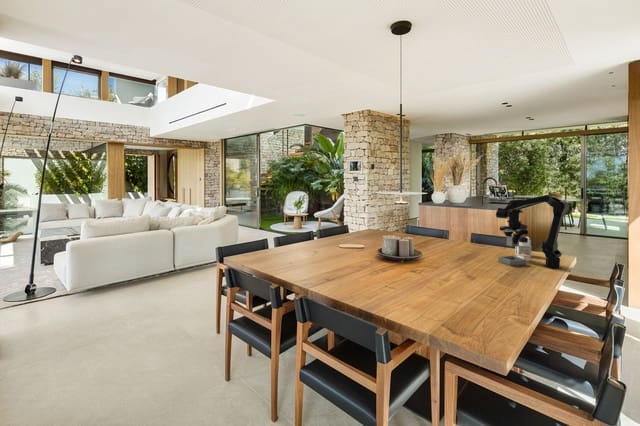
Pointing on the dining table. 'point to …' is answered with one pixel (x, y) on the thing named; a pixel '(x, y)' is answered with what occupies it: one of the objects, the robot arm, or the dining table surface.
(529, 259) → the pinkish brown block
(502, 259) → the tote
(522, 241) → the container
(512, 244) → the metal box
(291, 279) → the dining table surface
